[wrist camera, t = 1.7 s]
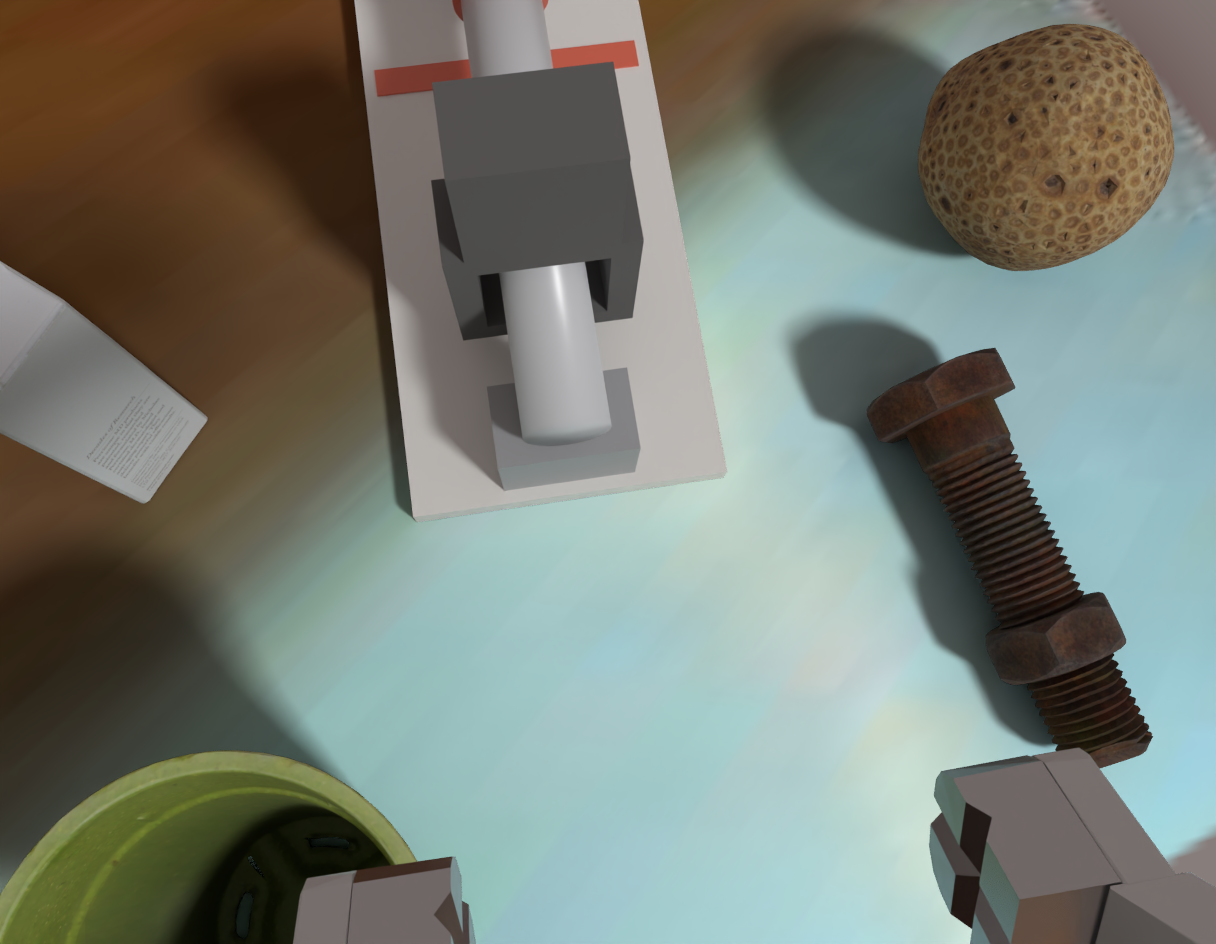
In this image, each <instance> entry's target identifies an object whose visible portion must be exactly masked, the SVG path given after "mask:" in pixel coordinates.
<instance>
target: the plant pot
mask: <svg viewBox="0 0 1216 944" xmlns="http://www.w3.org/2000/svg"><path fill="white" fill-rule="evenodd" d="M321 837H338V838H342V839H346V840H347V841H348V842H349V848H347V849H341V848H337V847H326V846H323V847H312V848H311V847H310V845H309V840H308V839H305V838H311V839H319V838H321ZM248 856H252V859H253V860H254V861H255V863H256V865H257V866H258V867H259V868H260V870H261V872H262V873H263V874H264V877H265V878H266V880H265V878H262V876H261V875H260V874H259V873H258V872H257V871H256V870H255V869H254V867H253V866H252V865H251V864H250V863H249V860H248ZM411 862H417V860H416V859H415V857H414V855H413V854H412V852H411V850H410V848H409V847H408V845H407V844H406V842H405V841H404V840H403V838H402V837H401V836H400V835H399V833H398V832H397V831H396V829H395V828H394V827H393V826H392V824H391V823H390V822H389V821H388V820H387V819H386V818H385V816H384V815H383V814H382V813H380V812H379V811H378V810H377V809H376V808H375V807H374V806H373V805H372V804H371V803H369V802H368V801H367V800H366V799H365V798H364V797H363V796H361V795H360V794H359V793H358V792H356V791H355V790H354V789H352V788H351V787H349V786H348V785H346V784H344V783H343V782H341V781H340V780H338V779H336V778H334V777H333V776H331V775H329V774H327V773H325V772H323V771H321V770H319V769H317V768H315V767H312V766H310V765H308V764H305V763H302V762H299V761H296V760H293V759H290V758H286V757H281V756H277V755H273V754H268V753H261V752H251V751H239V750H220V751H207V752H200V753H193V754H188V755H183V756H179V757H175V758H171V759H167V760H163V761H160V762H156V763H153V764H151V765H148V766H145V767H143V768H140V769H138V770H135V771H133V772H130V773H128V774H126V775H124V776H122V777H120V778H118V779H116V780H114V781H113V782H111V783H109V784H108V785H106V786H104V787H103V788H101V789H100V790H98V791H97V792H95V793H94V794H92V795H90V796H89V797H87V798H86V799H85V800H83V801H82V802H81V803H79V804H78V805H77V806H75V807H74V808H73V809H72V810H71V811H69V812H68V813H67V814H66V815H65V816H64V817H62V818H61V819H60V820H59V821H58V822H57V823H56V824H54V826H53V827H52V828H51V829H50V830H49V831H48V832H47V833H46V834H45V835H44V836H43V837H42V838H41V839H40V841H39V842H38V843H37V844H36V845H35V846H34V848H33V849H32V850H31V851H30V852H29V853H28V855H27V856H26V857H25V859H24V860H23V861H22V863H21V864H20V865H19V867H18V868H17V870H16V871H15V872H14V874H13V875H12V877H11V878H10V880H9V882H8V883H7V885H6V886H5V888H4V890H3V891H2V893H1V895H0V944H293V940H294V933H295V926H296V919H297V913H298V906H299V899H300V894H301V891H302V889H303V887H304V884H305V882H306V880H307V878H312V877H318V876H325V875H331V874H337V873H343V872H350V871H356V870H362V869H369V868H376V867H383V866H390V865H397V864H404V863H411ZM245 892H249V893H250V894H251V895H252V897H253V899H254V901H253V906H252V910H251V914H250V922H249V931H248V936H247V938H245V939H242V938H240V937H238V936H237V934H236V930H235V924H236V913H237V908H238V905H239V903H240V898H241V897H242V895H243V894H244V893H245Z"/></svg>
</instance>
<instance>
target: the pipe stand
mask: <svg viewBox="0 0 1216 944" xmlns="http://www.w3.org/2000/svg"><path fill="white" fill-rule="evenodd" d="M354 1H355V10H356V19H357V28H358V37H359V45H360V54H361V63H362V72H363V80H364V89H365V98H366V107H367V116H368V124H369V133H370V142H371V151H372V160H373V168H374V177H375V186H376V195H377V204H378V212H379V221H380V230H381V239H382V248H383V256H384V265H385V274H386V283H387V291H388V300H389V309H390V318H391V327H392V335H393V344H394V353H395V362H396V371H397V379H398V388H399V397H400V406H401V415H402V423H403V432H404V441H405V450H406V458H407V467H408V476H409V485H410V494H411V502H412V511H413V518H414V519H415V520H416V522H423V521H430V520H436V519H443V518H450V517H457V516H464V515H471V514H478V513H485V512H491V511H498V510H505V509H512V508H519V507H526V506H533V505H540V504H546V503H553V502H560V501H567V500H574V499H581V498H588V497H595V496H601V495H608V494H615V493H622V492H629V491H636V490H643V489H650V488H656V487H663V486H670V485H677V484H684V483H691V482H698V481H705V480H711V479H718V478H724V476H725V474H726V473H727V469H726V463H725V458H724V453H723V447H722V442H721V437H720V431H719V426H718V421H717V416H716V410H715V405H714V400H713V394H712V389H711V384H710V378H709V373H708V368H707V362H706V357H705V352H704V347H703V341H702V336H701V331H700V325H699V320H698V315H697V309H696V304H695V299H694V293H693V288H692V283H691V278H690V272H689V267H688V262H687V256H686V251H685V246H684V240H683V235H682V230H681V225H680V219H679V214H678V209H677V203H676V198H675V193H674V187H673V182H672V177H671V171H670V166H669V161H668V156H667V150H666V145H665V140H664V134H663V129H662V124H661V118H660V113H659V108H658V102H657V97H656V92H655V87H654V81H653V76H652V71H651V65H650V60H649V55H648V49H647V44H646V39H645V34H644V28H643V23H642V18H641V12H640V7H639V2H638V0H354ZM604 62H614V68H615V74H616V79H617V85H618V90H619V96H620V102H621V107H622V113H623V118H624V124H625V130H626V135H627V141H628V146H629V152H630V157H631V160H630V165H631V171H632V177H633V182H634V188H635V193H636V199H637V205H638V210H639V216H640V221H641V227H642V233H643V238H644V243H643V250H642V256H641V263H640V270H639V277H638V284H637V291H636V297H635V304H634V311H633V318H629V319H621V320H614V321H606V322H599V323H595V321H594V315H593V308H592V302H591V296H590V290H589V284H588V278H587V272H586V266H585V262H579V263H571V264H563V265H556V266H548V267H540V268H532V269H525V270H517V271H509V272H502V273H499V276H500V283H501V290H502V297H503V305H504V312H505V319H506V326H507V333H508V335H501V336H494V337H486V338H479V339H472V340H464V341H463V338H462V335H461V331H460V328H459V324H458V321H457V317H456V314H455V310H454V307H453V303H452V300H451V296H450V293H449V289H448V286H447V282H446V279H445V275H444V272H443V268H442V263H441V255H440V247H439V239H438V232H437V224H436V216H435V208H434V200H433V192H432V185H431V180H437V179H445V178H444V171H443V163H442V155H441V148H440V140H439V133H438V125H437V117H436V110H435V102H434V95H433V87H432V82H441V81H449V80H458V79H467V78H475V77H484V76H493V75H501V74H510V73H518V72H527V71H536V70H544V69H553V68H561V67H570V66H579V65H587V64H596V63H604Z"/></svg>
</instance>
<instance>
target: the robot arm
mask: <svg viewBox="0 0 1216 944" xmlns="http://www.w3.org/2000/svg"><path fill="white" fill-rule="evenodd" d="M934 797H935V799H936V801H937V803H938V805H939V807H940V809H941V811H942V813H941V814H940V815H939V816H938V817H937V818H936V819H935V820H934V821H933V822H932V823H931V826H930V842H929V848H930V854H931V860H932V866H933V872H934V875H935V877H936V880H937V883H938V886H939V889H940V892H941V894H942V897H943V899H944V901H945V903H946V905H947V907H948V910H949V912H950V914H951V915H953V916H954V917H956V918H957V919H958V920H960V921H961V922H963V923H964V924H966V925H967V926H968V927H970V928H971V929H972V934H971V941H970V944H1216V887H1215V886H1213V885H1211V884H1210V883H1208V882H1206V881H1205V880H1203V879H1201V878H1199V877H1198V876H1196V875H1194V874H1192V873H1191V872H1188V873H1181V874H1176V873H1175V872H1174V871H1173V869H1172V868H1171V866H1170V865H1169V864H1168V862H1167V861H1166V859H1165V858H1164V857H1163V855H1162V854H1161V853H1160V851H1159V850H1158V848H1157V847H1156V846H1155V844H1154V843H1153V842H1152V840H1151V839H1150V837H1149V836H1148V835H1147V833H1146V832H1145V831H1144V829H1143V828H1142V826H1141V825H1140V824H1139V822H1138V821H1137V820H1136V818H1135V817H1134V815H1133V814H1132V813H1131V811H1130V810H1129V809H1128V807H1127V806H1126V804H1125V803H1124V802H1123V800H1122V799H1121V798H1120V796H1119V795H1118V793H1117V792H1116V791H1115V789H1114V788H1113V787H1112V785H1111V784H1110V782H1109V781H1108V780H1107V778H1106V777H1105V776H1104V774H1103V773H1102V771H1101V770H1100V769H1099V767H1098V766H1097V765H1096V763H1095V762H1094V760H1093V759H1092V758H1091V756H1090V755H1089V754H1088V753H1086V752H1085V751H1083V750H1082V749H1080V748H1073V749H1067V750H1062V751H1056V752H1050V753H1044V754H1039V755H1033V756H1031V757H1030V756H1027V755H1026V756H1021V757H1016V758H1010V759H1005V760H999V761H994V762H989V763H983V764H978V765H972V766H967V767H962V768H956V769H951V770H945V771H941V773H940V774H939V776H938V777H937V779H936V783H935V791H934ZM293 944H476V939H475V934H474V928H473V922H472V917H471V913H470V909H469V905H468V904H467V903H465V902H463V901H462V878H461V874H460V870H459V867H458V863H457V860H456V857H446V858H439V859H432V860H425V861H418V862H411V863H404V864H397V865H390V866H383V867H376V868H369V869H362V870H356V871H350V872H343V873H337V874H331V875H325V876H318V877H312V878H307V880H306V882H305V884H304V887H303V889H302V891H301V894H300V899H299V906H298V913H297V919H296V926H295V933H294V940H293Z"/></svg>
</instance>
